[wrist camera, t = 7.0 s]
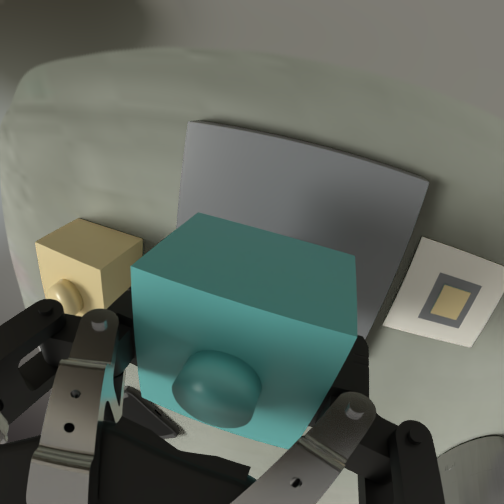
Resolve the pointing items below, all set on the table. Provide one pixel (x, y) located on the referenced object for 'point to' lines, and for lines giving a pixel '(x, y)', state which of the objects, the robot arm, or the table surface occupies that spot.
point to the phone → (146, 414)
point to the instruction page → (446, 294)
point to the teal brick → (242, 326)
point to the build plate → (305, 199)
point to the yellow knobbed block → (86, 265)
